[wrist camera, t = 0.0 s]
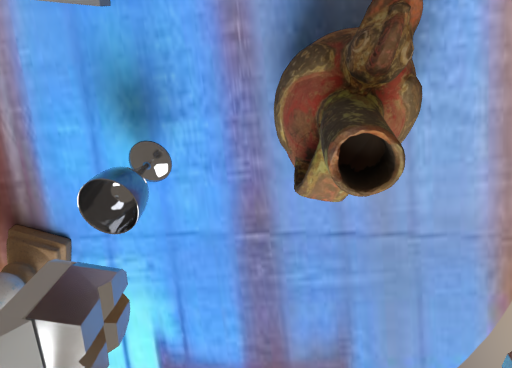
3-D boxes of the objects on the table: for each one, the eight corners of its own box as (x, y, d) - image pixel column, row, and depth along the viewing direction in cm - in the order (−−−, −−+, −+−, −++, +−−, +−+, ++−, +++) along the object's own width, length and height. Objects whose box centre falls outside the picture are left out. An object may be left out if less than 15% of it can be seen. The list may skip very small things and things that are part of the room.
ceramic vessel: (443, 3, 47) (574, 6, 24) (364, 182, 58) (404, 296, 36) (311, -35, 46) (321, -68, 24) (258, 153, 58) (232, 248, 36)
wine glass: (135, 129, 58) (86, 168, 45) (181, 153, 59) (147, 198, 46) (120, 170, 62) (70, 217, 48) (163, 191, 63) (127, 243, 49)
